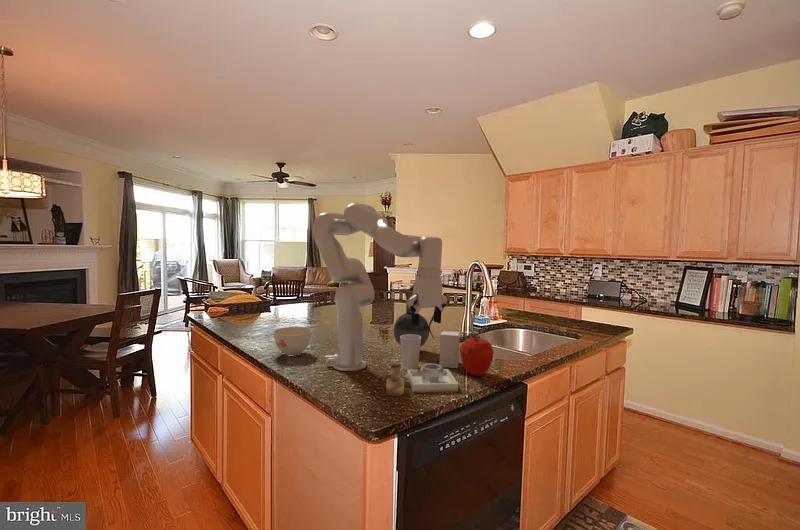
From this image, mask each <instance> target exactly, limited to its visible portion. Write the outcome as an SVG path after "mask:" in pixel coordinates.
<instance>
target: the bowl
mask: <svg viewBox="0 0 800 530" xmlns="http://www.w3.org/2000/svg"><path fill="white" fill-rule="evenodd" d="M313 331H314V330H313V329H311V327H306V326H288V327H287V326H286V327H281V328H277V329H275V330H273V331H272V335H273V339H274V342H275V345H276V347H277V349H278V350H279V351H281V352H282V353H284V355H285V354H286V355H298V354H300V355H301V354H302V352H304V351H306V349H307V348H309V347H308V346H309V345H310V344H311V339H312V335H313ZM286 355H285V356H286Z"/></svg>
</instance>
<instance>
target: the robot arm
mask: <svg viewBox="0 0 800 530" xmlns="http://www.w3.org/2000/svg"><path fill="white" fill-rule="evenodd" d="M311 231H312V237H313V240H314V242H315V244H316V247H317V248H318V250H319V253H320V255H321V257H322V261H323V262H324V266H325V268H326V270H327V273H328V275H329V278H331V280H332V281H333V282H334V283H336V284H337V283H339V284H341V283H343V285H340V287H338V288H337V290H336V292H335V294H334V303H335V308H336V314H337V315H336V317H337V318H336V319H337V321H336V323H337V324H336V326H337V327H336V329H337V330H336V336H337V337H336V338H337V339H336V341H337V342H336V343H337V344H336V345H337V346H336V354H333V355H325V356H324V359H325V361H327V363H332V367H333V369H335V370H337V371H341V372H355V371H359V370H363V369H365V368H366V367H367V362H366V361H365V360H363V327H364V325H363V316H362V312H361V309H360V308H363V307H367V306H368V305H371V304H372V302H373V301H374V299H375V294H376V293H375V289H374V286H373V284H372V281H371V278H370V277H369V274H368V272H367V269H366V267H365V265H364V263H362V261H360V260H359V259H358V258H355V257H347V255H346V254H345V251H344V248H343V247H342V245H341V243H340V242H339V241H338V240H337V238H336V237H335V236H350V235H353V234H357V233H358V232H363V233H364V234H366V235H368V237H371V238H373V240H374V241H375V243H376V244H377V245H378V246H379V247H380V248H381V249H384V250H385V251H387V252H389V253H390V254H392V255H394V256H397V257H398V258H416V257H417V258H418V268H417V269H418V271H417V276H416V277H415V278H414V283H413V285H414V287H413V294H412V297H411V298H409V299H408V300H407V301H406V300H405V304H406V303H407V305H408V308H409V310H410V312H411V313H412V324H413V325H416V326H418V325H419V314H420V313H419V312H420V311H421V309H424V308H425V309H427V308H434V309H436V310H433V315H434V319H433V321H432V322H434V323H436V324H437V323H438V324H441V323H442V312H444V309H445V308H446V305H447V303H448V297H446V296H445V295H443V282H442V281H443V280H442V277H441V275H442V274H443V271H442V269H441V268H442V254H443V253H442V251H443V240H442V238H441V237H438V236H437V237H436V236H423V237H422V236H419V235H412V234H411V235H410V234H403V233H400V231H397V230H396V229H394V228H392V227H390V226H389V223H388V218H386V217H385V216H383V215H381V214H380V213H378V212H377V210H376V208H374V206H372V205H370V204H364V203H359V202H353V203H349V204H348V205H347V206H346V207H345V209H344V211H343V213H337V212H330V211H329V212H328V211H327V212H322V213H320V214H319V215H317V216H316V217H315V219H314V221H313V223H312V230H311ZM344 283H346V284H344ZM413 305H414V306H413Z"/></svg>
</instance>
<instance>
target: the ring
mask: <svg viewBox="0 0 800 530" xmlns="http://www.w3.org/2000/svg"><path fill="white" fill-rule="evenodd" d="M443 369H444V367H442V366H441V365H440V364H437V363H424V364H421V365H420V368H418V369H417V370H418V373H419V374H421V382H422V383H423V384H426V383H443Z"/></svg>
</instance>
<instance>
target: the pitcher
mask: <svg viewBox="0 0 800 530" xmlns="http://www.w3.org/2000/svg"><path fill="white" fill-rule="evenodd" d="M413 287H414V284H412V285H411V284H410V285H409V288H401V289H398V292H402V293H404V295H405V305H406V310H405V313H403V314H401V315H399V317H398V318H397V319H396V320H395V323H394V325H393V337H394V340H395V341H396V343H397V344H398V345H399V346H401V341H400V336H401V335H406V334H413V335H419V336H421V344H420V348H421V347H422V346H424V345H425V343H427V341H428V339H429V336H430V335H431V337H432V338H433V339H435V337H434V335H433V332H432V330H431V325H432V322H434V321H433V320H434V314H433V315H432V317H431V319H430V321H429V322H428V321H427V319H426V318H425V316H423V315H421V314H420V313H418V314H419V325H418V326H416V325H413V324H412V313H411V312H410V310H409V308H408V305H407V303H406V301H407V300H408V299H409V298H411V297H412V294H413ZM413 306H414V305H413ZM434 310H436V309H435V308H434ZM434 310H433V311H434Z"/></svg>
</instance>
